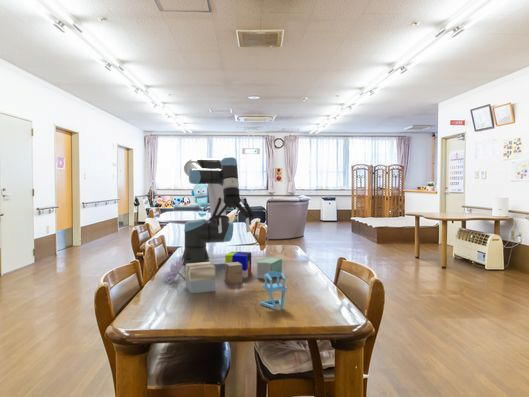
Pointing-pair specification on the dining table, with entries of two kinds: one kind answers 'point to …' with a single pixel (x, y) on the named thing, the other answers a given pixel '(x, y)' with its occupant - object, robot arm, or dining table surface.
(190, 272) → the tower slab upper
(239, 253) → the puzzle toy
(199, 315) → the dining table surface
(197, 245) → the robot arm
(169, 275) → the water lily
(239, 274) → the walnut block
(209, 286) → the tower slab lower
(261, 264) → the box
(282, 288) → the chair
